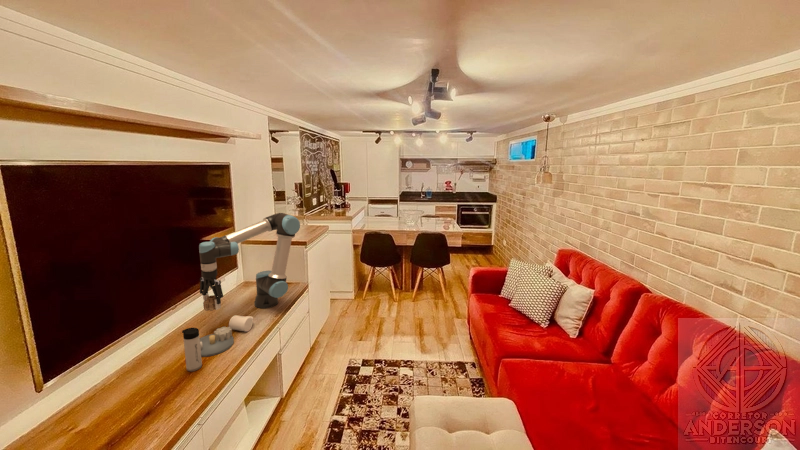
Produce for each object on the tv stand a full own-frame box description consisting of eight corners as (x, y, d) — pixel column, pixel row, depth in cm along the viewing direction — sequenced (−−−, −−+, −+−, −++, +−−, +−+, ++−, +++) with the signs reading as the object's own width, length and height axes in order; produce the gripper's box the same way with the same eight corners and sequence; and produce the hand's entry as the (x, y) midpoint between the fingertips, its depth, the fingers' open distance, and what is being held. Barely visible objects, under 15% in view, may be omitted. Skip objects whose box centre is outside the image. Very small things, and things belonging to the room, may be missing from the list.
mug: (244, 334, 184) (243, 321, 182) (229, 331, 186) (228, 319, 184) (257, 324, 195) (256, 312, 194) (243, 321, 197) (242, 309, 196)
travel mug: (187, 365, 155) (183, 327, 151) (203, 362, 158) (199, 325, 154) (184, 373, 150) (180, 334, 146) (200, 370, 152) (197, 331, 148)
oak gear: (214, 303, 188) (213, 292, 187) (224, 306, 185) (223, 295, 184) (200, 309, 181) (199, 298, 179) (211, 312, 178) (210, 301, 176)
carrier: (217, 331, 185) (216, 321, 184) (243, 340, 178) (242, 330, 177) (181, 350, 166) (180, 339, 165) (208, 360, 159) (207, 349, 158)
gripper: (189, 268, 179) (193, 305, 184) (216, 275, 171) (220, 314, 176) (202, 264, 186) (205, 300, 190) (228, 270, 178) (231, 308, 183)
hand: (212, 307), depth 183 cm, fingers closed on oak gear, 8 cm apart
